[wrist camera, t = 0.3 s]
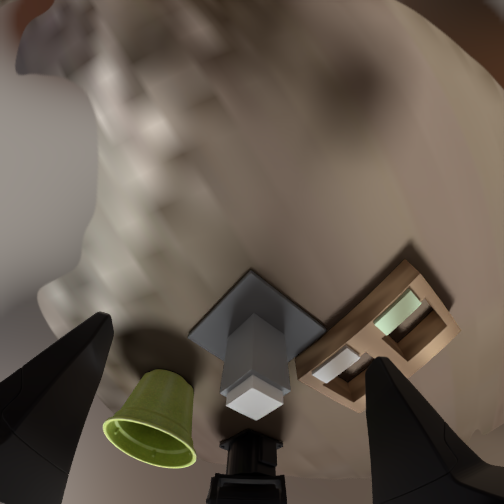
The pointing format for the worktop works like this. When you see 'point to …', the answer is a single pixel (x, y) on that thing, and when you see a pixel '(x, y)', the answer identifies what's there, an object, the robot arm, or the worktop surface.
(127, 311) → the worktop surface
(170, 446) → the plant pot
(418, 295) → the socket block
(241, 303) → the pad
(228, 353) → the plug
